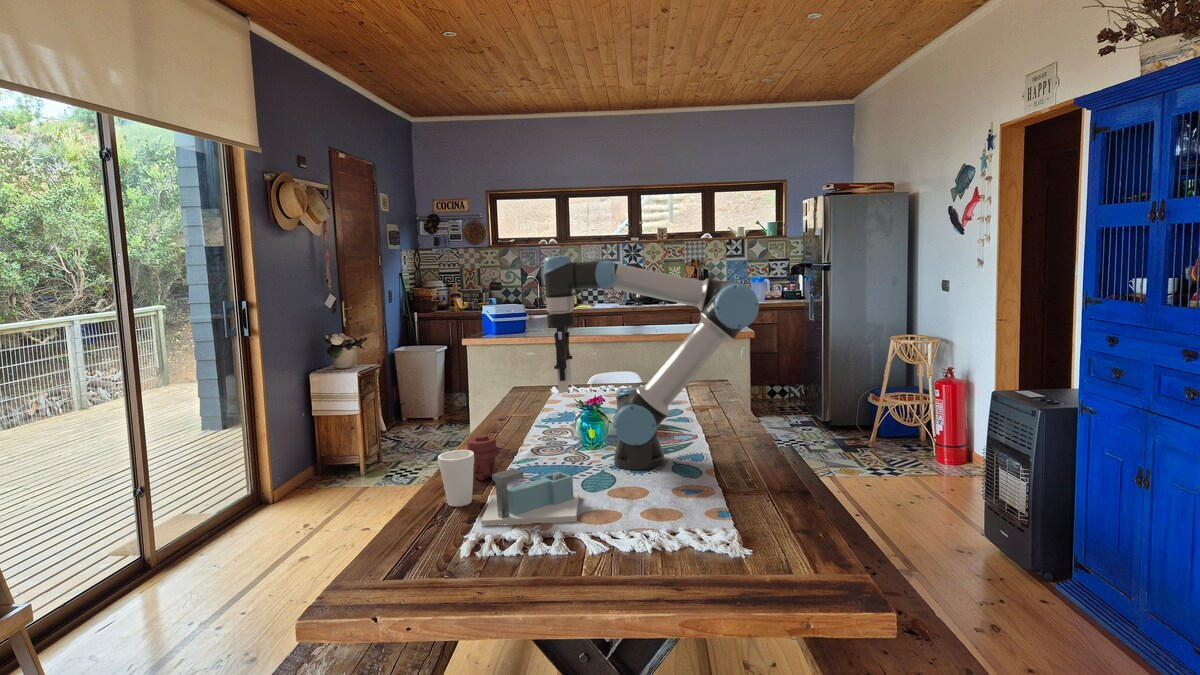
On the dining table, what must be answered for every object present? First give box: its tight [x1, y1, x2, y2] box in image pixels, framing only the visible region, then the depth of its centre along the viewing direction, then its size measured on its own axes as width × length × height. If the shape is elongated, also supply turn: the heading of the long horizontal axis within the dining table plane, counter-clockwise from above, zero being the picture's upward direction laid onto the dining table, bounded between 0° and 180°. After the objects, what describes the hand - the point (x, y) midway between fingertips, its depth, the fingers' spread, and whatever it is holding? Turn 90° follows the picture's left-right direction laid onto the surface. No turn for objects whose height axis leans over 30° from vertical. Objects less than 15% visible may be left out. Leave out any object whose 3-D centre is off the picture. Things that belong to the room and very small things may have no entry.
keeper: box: [491, 468, 524, 519], centre depth 178 cm, size 6×4×12 cm
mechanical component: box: [466, 434, 500, 481], centre depth 213 cm, size 12×10×10 cm
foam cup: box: [437, 449, 474, 507], centre depth 193 cm, size 10×9×13 cm
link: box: [507, 471, 574, 516], centre depth 183 cm, size 17×6×6 cm, turn 129°
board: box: [480, 472, 580, 526], centre depth 183 cm, size 23×17×8 cm
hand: (565, 387), depth 204 cm, fingers open, 13 cm apart
